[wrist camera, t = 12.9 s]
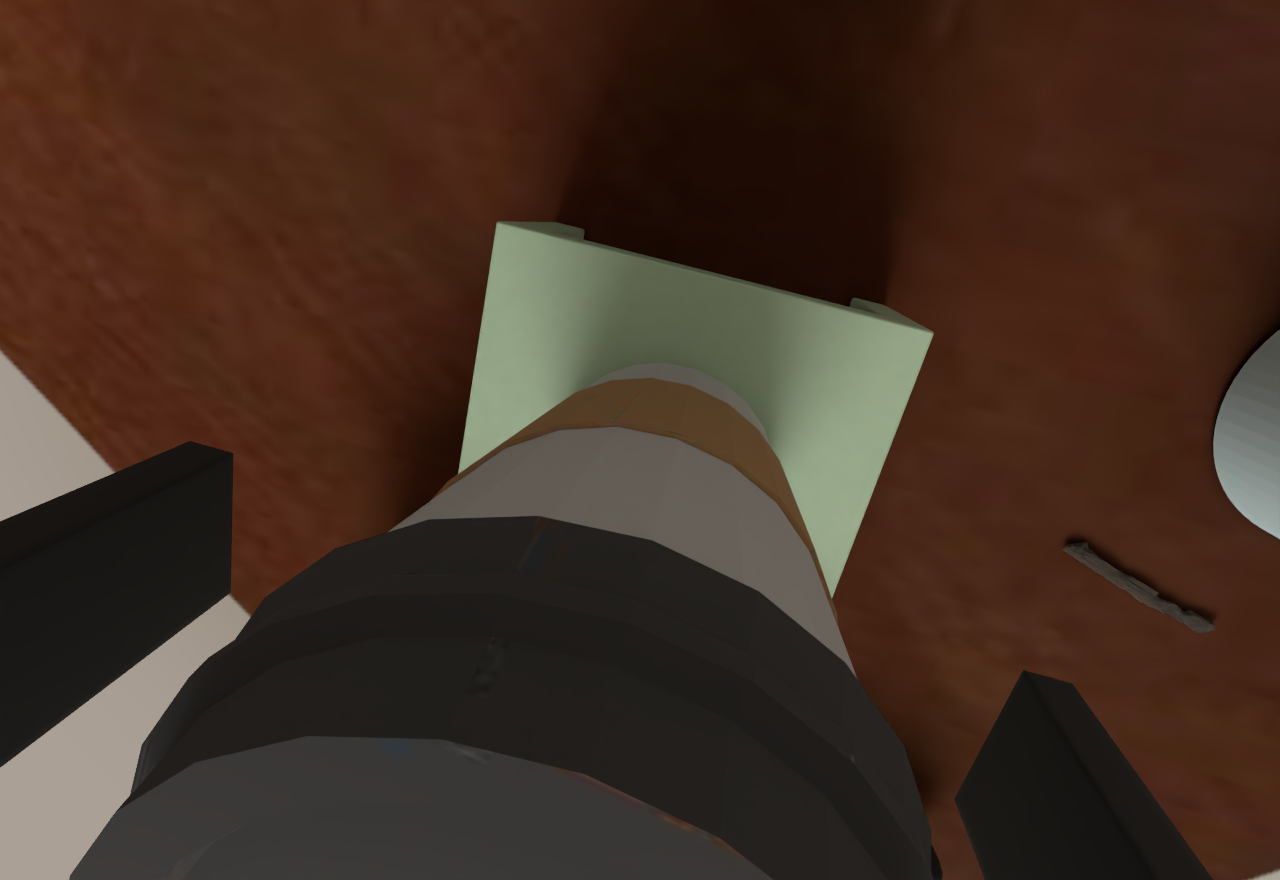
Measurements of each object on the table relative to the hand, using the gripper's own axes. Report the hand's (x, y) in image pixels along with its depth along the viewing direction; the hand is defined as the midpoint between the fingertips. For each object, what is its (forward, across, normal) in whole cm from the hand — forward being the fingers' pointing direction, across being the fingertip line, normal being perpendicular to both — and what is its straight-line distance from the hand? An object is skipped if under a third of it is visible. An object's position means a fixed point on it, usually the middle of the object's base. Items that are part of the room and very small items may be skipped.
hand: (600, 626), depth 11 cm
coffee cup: (+9, 0, 0) cm, 9 cm away
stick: (+15, +19, -2) cm, 24 cm away
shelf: (+15, 0, 0) cm, 15 cm away
